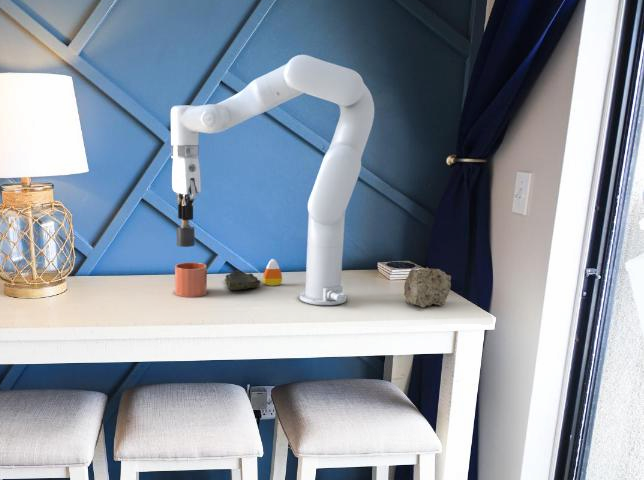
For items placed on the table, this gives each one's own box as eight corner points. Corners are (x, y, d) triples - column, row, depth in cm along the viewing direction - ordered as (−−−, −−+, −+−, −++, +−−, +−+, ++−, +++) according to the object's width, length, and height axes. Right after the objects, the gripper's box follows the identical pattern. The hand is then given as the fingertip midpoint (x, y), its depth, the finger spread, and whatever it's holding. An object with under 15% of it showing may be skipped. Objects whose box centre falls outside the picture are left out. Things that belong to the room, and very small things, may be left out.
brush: (197, 245, 179) (197, 199, 176) (181, 247, 177) (180, 200, 174) (190, 242, 184) (189, 197, 180) (174, 244, 182) (173, 198, 178)
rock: (397, 275, 177) (412, 263, 167) (441, 278, 177) (458, 266, 168) (399, 313, 173) (415, 303, 164) (444, 316, 174) (462, 306, 165)
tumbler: (211, 294, 181) (211, 267, 179) (182, 298, 178) (182, 270, 176) (198, 287, 189) (198, 261, 187) (170, 291, 186) (170, 264, 184)
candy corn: (281, 283, 193) (282, 257, 191) (283, 285, 191) (283, 259, 189) (261, 283, 193) (262, 258, 191) (263, 286, 190) (263, 260, 188)
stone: (219, 272, 199) (249, 266, 200) (221, 285, 200) (252, 280, 201) (230, 282, 181) (264, 275, 182) (232, 296, 181) (266, 290, 182)
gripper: (209, 153, 168) (209, 222, 173) (185, 150, 183) (186, 214, 187) (183, 153, 166) (184, 224, 170) (161, 151, 180) (162, 216, 184)
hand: (185, 218), depth 179 cm, fingers closed on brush
